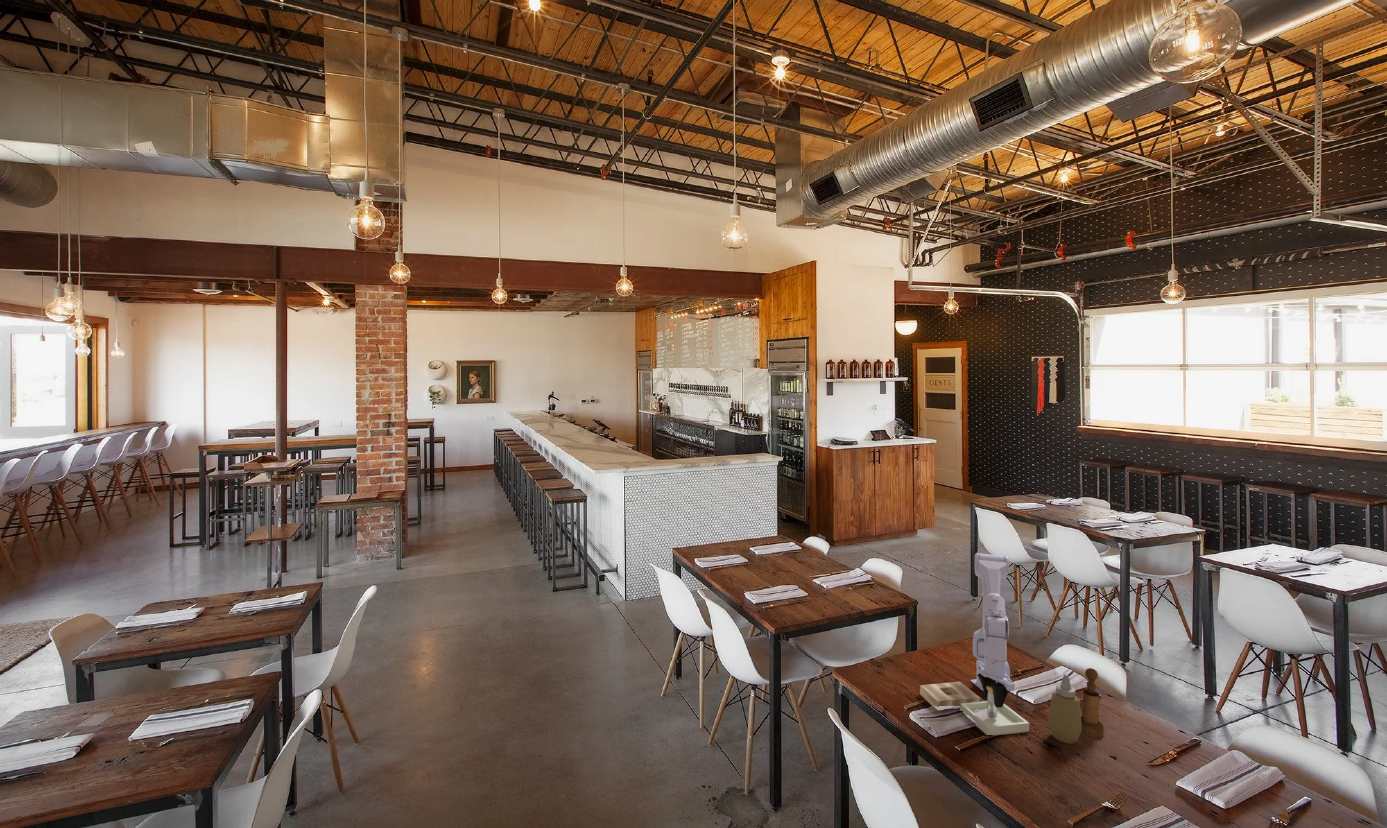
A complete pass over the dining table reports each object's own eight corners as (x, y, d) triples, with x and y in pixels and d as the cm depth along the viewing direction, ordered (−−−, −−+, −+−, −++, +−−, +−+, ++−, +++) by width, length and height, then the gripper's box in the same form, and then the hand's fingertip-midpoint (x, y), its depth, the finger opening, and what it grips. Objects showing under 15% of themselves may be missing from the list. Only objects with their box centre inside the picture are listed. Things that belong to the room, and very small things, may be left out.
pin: (993, 710, 180) (996, 682, 179) (1002, 718, 176) (1004, 690, 175) (981, 711, 180) (983, 683, 179) (989, 719, 176) (992, 691, 175)
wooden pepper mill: (1108, 738, 169) (1109, 675, 168) (1082, 736, 170) (1084, 673, 169) (1097, 725, 175) (1099, 664, 174) (1072, 723, 176) (1074, 662, 176)
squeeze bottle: (1048, 741, 167) (1050, 678, 166) (1047, 727, 174) (1048, 666, 174) (1083, 749, 163) (1084, 684, 163) (1080, 734, 171) (1081, 672, 170)
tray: (998, 707, 185) (999, 699, 185) (1029, 731, 172) (1029, 723, 172) (960, 711, 183) (960, 703, 183) (988, 735, 170) (988, 727, 170)
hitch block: (959, 690, 195) (960, 681, 195) (979, 706, 186) (979, 697, 185) (920, 694, 193) (920, 685, 193) (937, 710, 183) (937, 701, 183)
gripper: (967, 647, 183) (966, 691, 184) (999, 669, 169) (998, 717, 169) (988, 646, 184) (987, 689, 185) (1021, 668, 170) (1020, 715, 171)
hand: (994, 702), depth 177 cm, fingers closed on pin, 4 cm apart
